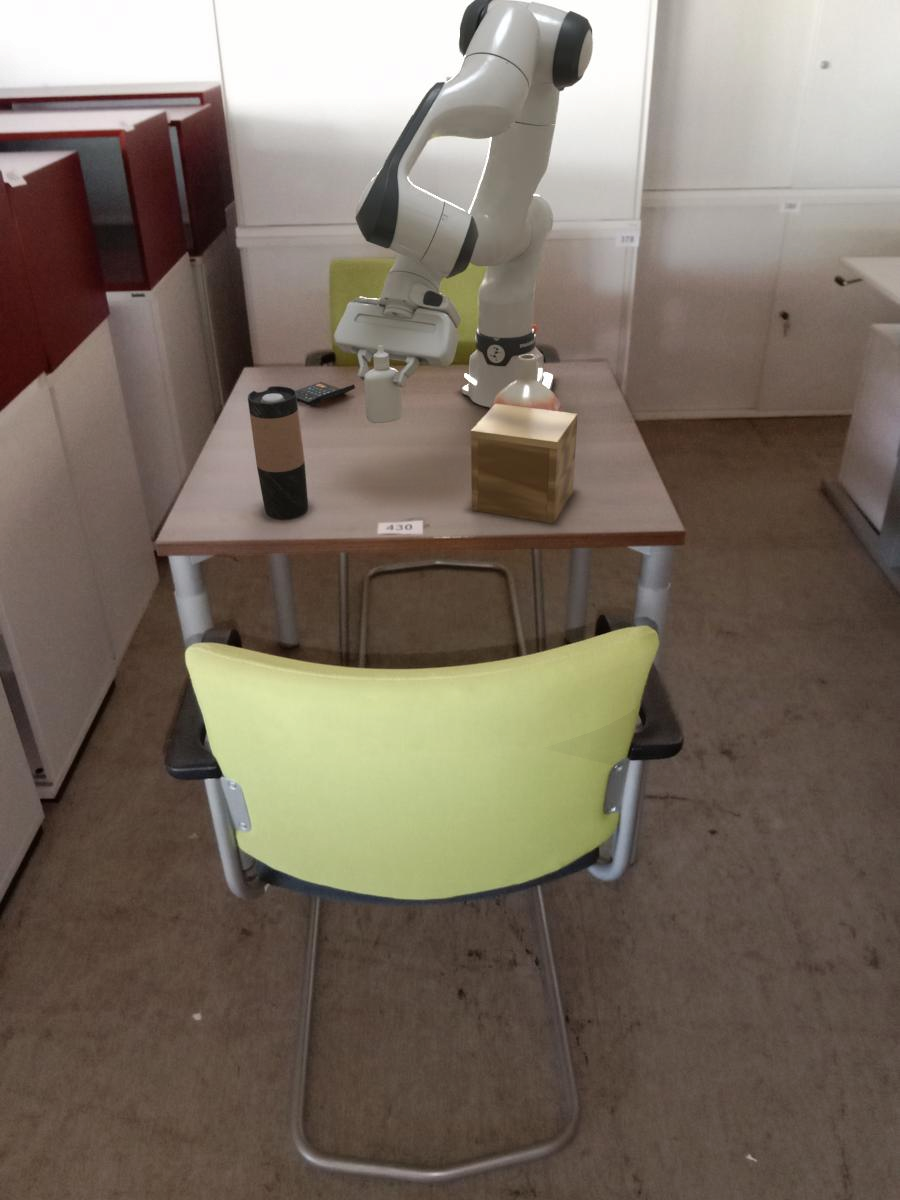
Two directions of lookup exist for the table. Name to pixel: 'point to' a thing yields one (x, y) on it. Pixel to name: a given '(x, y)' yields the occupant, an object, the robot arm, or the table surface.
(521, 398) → the vase
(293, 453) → the travel mug
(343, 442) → the table surface
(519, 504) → the plywood crate
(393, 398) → the eye dropper bottle
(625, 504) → the table surface
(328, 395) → the calculator
